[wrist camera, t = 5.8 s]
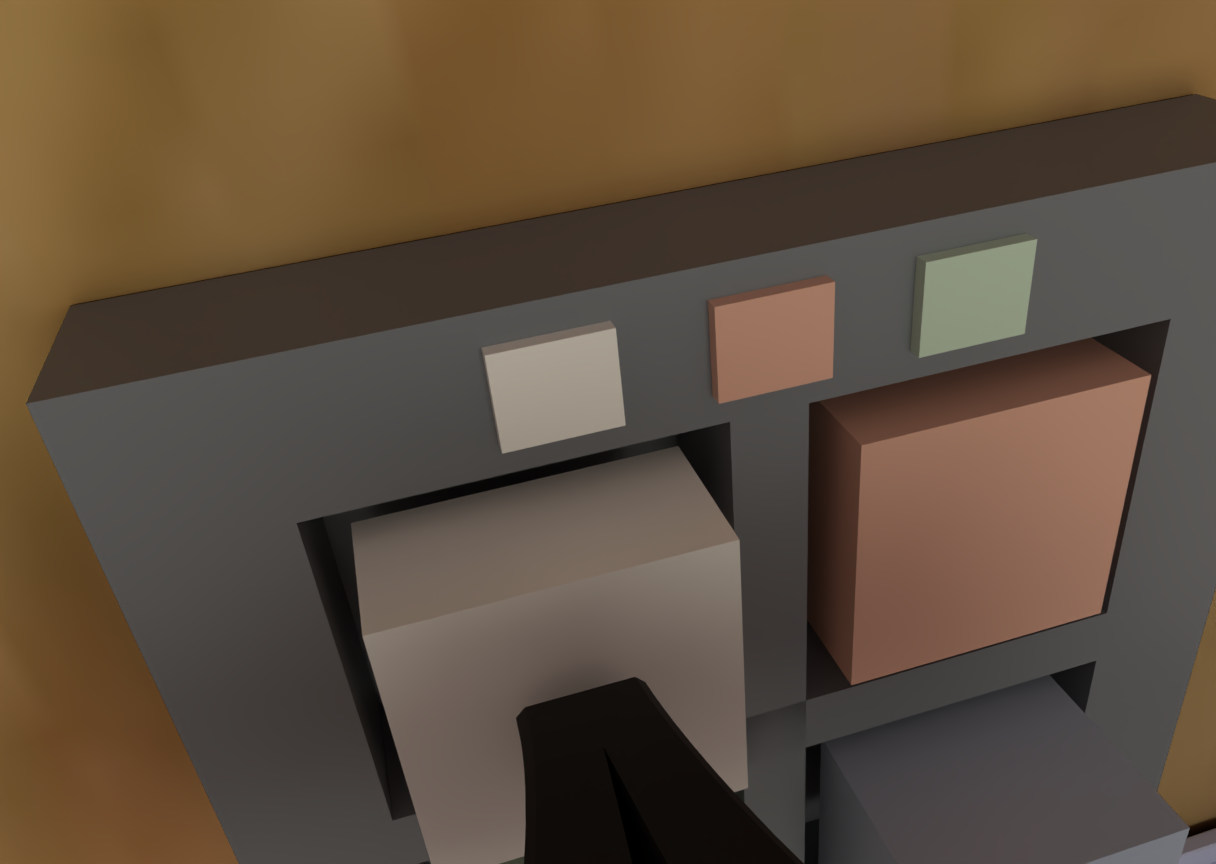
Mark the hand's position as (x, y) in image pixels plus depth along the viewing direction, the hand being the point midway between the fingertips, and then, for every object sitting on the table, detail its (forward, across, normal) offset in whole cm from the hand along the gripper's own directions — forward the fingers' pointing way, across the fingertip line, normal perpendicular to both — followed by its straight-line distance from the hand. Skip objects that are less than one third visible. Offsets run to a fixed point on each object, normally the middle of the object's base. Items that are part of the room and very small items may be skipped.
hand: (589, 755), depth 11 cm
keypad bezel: (+4, -3, +3) cm, 6 cm away
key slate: (+2, -6, +6) cm, 9 cm away
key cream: (+2, 0, 0) cm, 2 cm away
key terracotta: (+4, -6, 0) cm, 7 cm away
